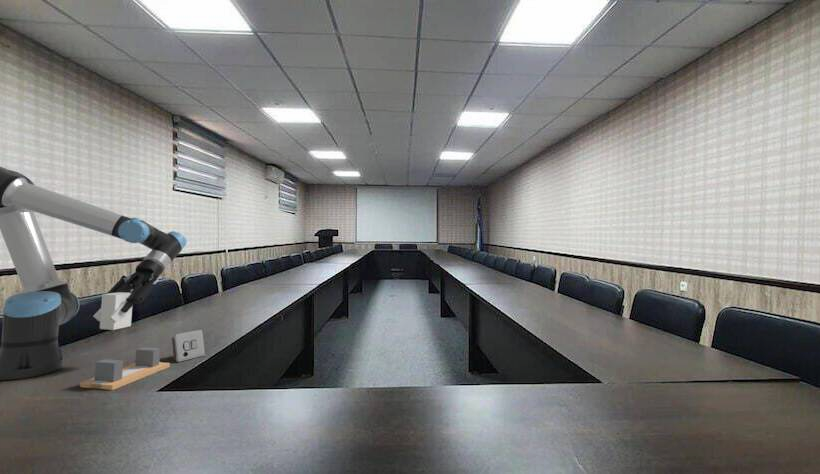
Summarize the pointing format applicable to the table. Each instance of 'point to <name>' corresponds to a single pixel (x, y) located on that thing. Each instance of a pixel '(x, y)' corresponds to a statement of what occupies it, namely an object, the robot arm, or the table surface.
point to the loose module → (110, 305)
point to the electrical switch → (188, 345)
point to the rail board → (125, 370)
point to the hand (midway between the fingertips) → (105, 319)
